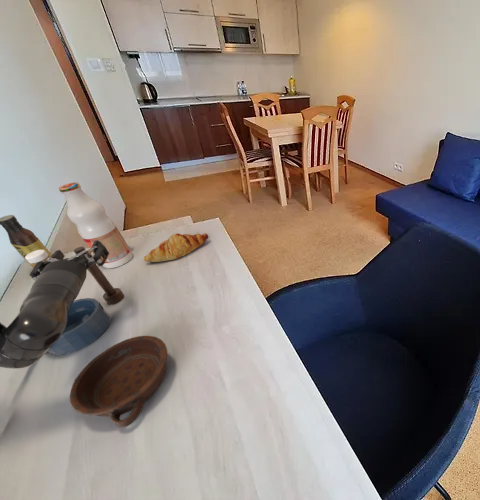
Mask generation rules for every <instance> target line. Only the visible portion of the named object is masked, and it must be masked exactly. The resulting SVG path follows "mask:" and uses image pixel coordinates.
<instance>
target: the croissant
mask: <svg viewBox="0 0 480 500" xmlns="http://www.w3.org/2000/svg"><path fill="white" fill-rule="evenodd" d="M208 239H209V234H208V233H207V232H206V233H202V234H200V233H195V234H190V233H187V234H186V233H184V234H182V233H178V232H177V233H174V234H172V235H171V236H169V237H168V239H167V240H164V241H162V242H160V243H159V244H158V246H157V247H155V248H153V249H151V250H150V251H149V252H148V254H147V255H145V256H143V260H144V262H147V263H159V262H167V261H174V260H177V259H179V258H181V257H184V256H187V255H188V254H190V253H192V252H193V251H194V250H196V249H197V248H199V247H201V246H202V245H203V244H205V242H206V241H207V240H208Z"/></svg>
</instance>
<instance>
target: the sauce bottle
mask: <svg viewBox="0 0 480 500" xmlns="http://www.w3.org/2000/svg"><path fill="white" fill-rule="evenodd" d="M0 226H1V227H2V228H3V229H4V230H5V231H6V233H7V236H8V240H9V244H10V245H11V246H12V247H13V248H14V249H15V250H16V251H17V252H18V253H19V255H20V256H21V257H22V258H23V259H24V260H25V261H26V262H27V263H28V264H29V266H31V268H32V269H33V268H34V267H33V265H32V264H30V263H29V262H28V261H27V260H26V259H25V257H26V255H28V254H29V253H31V252H33V251H36V250H45V251H46V252H47V254H48V255H49V257H51V256H52V253H51V252H50V251H49V249H48V248H47V247H46V246H45V245H44V244H43V242H42V241H41V240H40V239H39V238H38V237H37V235H35V233H34V232H33V231H31V230H30V229H28V228H25V227H24V226H23V225H21V224H20V222H19V221H18V219H17V217H16V216H15V215H14V214H8V215H4V216H2V217H0Z"/></svg>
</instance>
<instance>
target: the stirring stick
mask: <svg viewBox="0 0 480 500" xmlns="http://www.w3.org/2000/svg"><path fill="white" fill-rule="evenodd" d="M84 250H85V251H87V249H86V248H85V246H79V247H76V248H74V249H73V253H74V254H75V255H77V254H79V253H80V252H82V251H84ZM82 257H84V258H85V259H87V258H86V257H85V255H84V256H82ZM87 260H88V259H87ZM87 271H88V272H89V274H90V275H91V276H92V277H93V279H94V281H96V282H97V284H98V285H99V286H100V288H101V289H102V290H103V292H104V293H103V295H102V298H103V300H104V301H105V302H106V303H107V304H108V305H116V304H117V303H119V302H121V301H123V299H124V298H125V294H124V292H123V291H122V290H121V288H119V287H114V286H113V285H112V284H111V282H110V281H109V280H108V278H107V277H106V276H105V274H104V273H103V271H102V270H101V269H100V266H98V264H93V265H91V266H90V267H89V268H88V269H87Z"/></svg>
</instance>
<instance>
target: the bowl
mask: <svg viewBox="0 0 480 500" xmlns="http://www.w3.org/2000/svg"><path fill="white" fill-rule="evenodd" d="M110 324H111V316H110V314H109V313H108V312H107V310H106V309H105V308H104V306H103V305H102V303H100V301H99V300H97V299H96V298H92V297H86V298H78V299H75V300H74V301H73V303H72V306H71V308H70V310H69V312H68V320H67V325H66V328H65V330H64V332H63V333H62V335H61V336H60V338H59V339H58V340H57V341H56V342H55V343H54V344H53V346H52V347H51V348H50V349H49V350H48V351H47V352H48V353H49V354H50V355H57V356H59V355H66V354H70V353H74V352H77V351H80V350H82V349H84V348H86V347H87V346H89V345H91V344H92V343H94V342H95V341H96V340H97V339H99V338H100V337H101V336H102V335H103V334H104V333H105V331H106V330H107V329H108V328H109V325H110Z"/></svg>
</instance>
